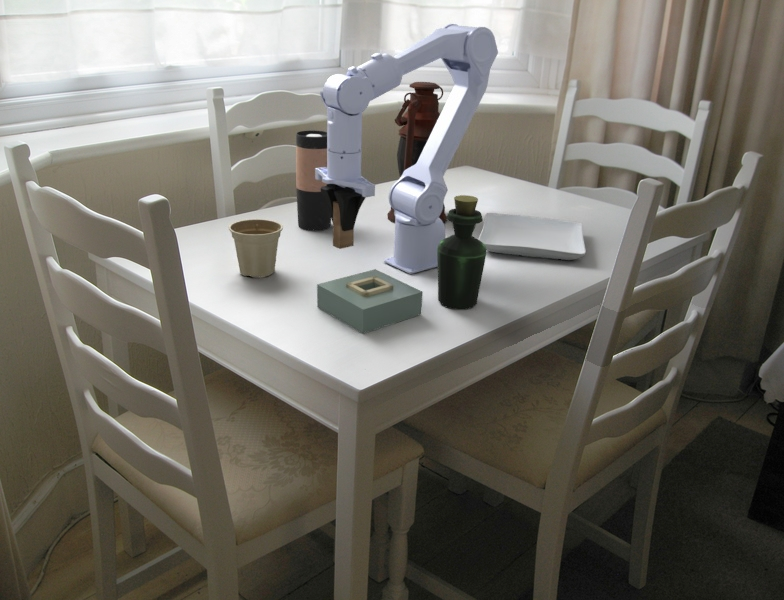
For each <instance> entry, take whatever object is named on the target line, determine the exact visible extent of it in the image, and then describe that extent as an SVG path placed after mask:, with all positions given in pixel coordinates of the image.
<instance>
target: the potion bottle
mask: <svg viewBox="0 0 784 600" xmlns="http://www.w3.org/2000/svg"><path fill="white" fill-rule="evenodd" d="M453 198H454V199H453V201H454V207H455V208H451V209H449V210H448V213H447V214H446V216H447V218H446V219H447V221H448V222H451V223H452V229H453V234H452V235H450V236H448V237H445V239H443V240H441V242H440V243H439V245H438V248H437V261H438V267H437V298H438V302H439V303H440V304H441V305H442V306H444V307H445V308H448V309H452V310H458V311H459V310H469V309H472V308H473V307H476V305H477V304H478V298H479V294H480V293H479V292H480V288H481V282H482V278H483V272H484V269H485V267H484V266H485V263H486V258H487V257H486V256H487V252H488V250H487V249H486V247H485V245H484V244H483V243H482V242H481V241H480V240H478V237H477V238H476V237H475V236H473V234H474V231H475V227H476V225H478V224H481V223H483V220H484V219H483V214H482V212H481V211H480V210H477V205H478V202H479V198H478V197H475V196H473V195H467V194H466V195H465V194H463V195H462V194H461V195H455V196H454V197H453Z"/></svg>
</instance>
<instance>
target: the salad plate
mask: <svg viewBox="0 0 784 600" xmlns="http://www.w3.org/2000/svg"><path fill="white" fill-rule="evenodd" d="M483 220H484V222H483V225H482V228H481V229H482V230H481V232H480V234H479V235H478V237H477V239H478V240H480V241H481V242H482V243H483V244H484V245H485V247H486V249H487V252H491V253H492V252H493V253H496V254H501V253H503V254H502V255H510V254H512V256H519V255H522V257H528V256H532V257H531V258H538V257H542V258H541V259H548V258H552V259H551V260H558V259H561V260H560V261H562V260H563V261H564V260H565V261H572V260H577V259H581V258H582V257H584V256H585V255H586V251H587V249H586V245H585V239H584V226H583V224H582V223H581V222H577V221H571V220H562V219H555V218H546V217H539V216H538V217H537V216H529V215H519V214H518V215H517V214H516V215H515V214H508V213H507V214H504V213H496V212H495V213H494V212H486V213H485V216H484V219H483Z"/></svg>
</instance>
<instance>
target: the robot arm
mask: <svg viewBox="0 0 784 600" xmlns="http://www.w3.org/2000/svg"><path fill="white" fill-rule="evenodd" d="M497 45H498V44H497V41H496V38H495V35H494V33H493V31H492V30H491V29H489V28H488V27H487V26H478V27H477V26H468V25H467V26H466V25H458V24H456V23H455V24H454V23H449V24H446V25H444V26H443V27H440V28H436V29H435V30H434V31H433V32H432V33H431V34H429V35H427V36H426V37H424V38H423V39H421V40H419V41H417V42H416V43H414V44H413V45H411V46H410V47H407V48H406V49H404V50H402V51H400V52H399V53H397V54H396V55H394V56H392V55H391V54H389V53H380V52H375V53H374V54H372V55H371V56H370V57H371V59H370V60H368V61H366V62H364V63H362V64H360V65H358V66H350V67H348V69H347V72H346V74H341V73H336V74H333V75H331V76H330V77H329V78H328V79H326V81H325V83H324V85H323V88H322V90H321V91H320V99H321V101H322V103H323V105H324V106H325V108H326V116H327V117H326V119H327V125H326V130H327V131H326V132H327V168H326V167H321V168H315V179H317V180H321V179H322V182H324V183H327V186H323V187H321V192H322V194H323V196H324V197H325V200H326V202H327V204H328V207H329V211H330V214H331V224H333V202H335V201H337V202H338V205H339V210H340V221H341V228H342V230H343V231H348V230H353V229H354V230H355V224H356V221H357V219H358V218H357V217H358V215H359V211H360V209H361V207H362V205H363V203H364V202H365V200H366V198H370V197H375V195H376V184H375V183H372V182H370V181H369V180H368V179H366V178H365V177H364V176H362V145H363V144H362V141H363V139H362V138H363V135H362V134H363V113H364V112H365V111H366V110H367V108H368V106H369V104H370V102H371V101H373V100H375V99H377V98H379V97H380V96H383V95H385V94H386V93H388V92H390V91H391V90H393V89H395V88H398V87H399V86H400V85H401V84H402V79H403V77H404V75H407V74H409V73H412V72H413V71H416V70H418V69H419V68H422V67H424V66H426V65H428V64H431V63H433V62H435V61H438V60H439V59H441V61H442V62H443V64H444V66H445V67H446V69H447V70H448V72H449V74H450V75H451V76H450V77H452V80H453V85H454V86H453V87H452V89H451V92H450V93H449V96H448V98H447V100H446V102H445V104H444V106H443V108H442V110H441V113H440V116H439V118H438V120H437V122H436V124H435V126H434V128H433V130H432V133H431V135H430V137H429V139H428V141H427V143H426V145H425V147H424V149H423V151H422V153H421V155H420V157H419V159H418V161H417V163H416V164H415V165H413V166H411V167H410V168H408V169H406V170H405V171H404V172H403V174H402V176H401V177H399V179H398V180H397V181H395V183H393V184H392V186H391V188H390V190H389V193H388V203H389V205H390V208H391V207H392V208H393V209H394V216H395V223H394V242H393V243H394V244H393V245H394V246H393V256H392V257H388V258H384V259H383V262H384V263H385V264H387V265H390V266H391V267H394V268H397V269H399V270H401V271H403V272H405V273H407V274H416V273H419V272H422V271H423V272H424V271H427V270H430V269H434V268H438V261H437V248H438V245H439V243H440V242H441V240H443V239H445V238H446V233H447V232H446V226H445V224H444V223H443V222H442V220H441V219H440V218H439V216H440V214H441V212H442V210H443V203H444V201H445V197H446V195H447V193H448V187H447V184H446V180H445V178H444V177H445V174H446V172H447V170H448V168H449V166H450V164H451V162H452V160H453V158H454V155H455V154H456V151H457V149H458V148H459V146H460V144H461V142H462V140H463V137H464V136H465V134H466V132H467V129H468V127H469V126H470V124H471V121H472V119H473V118H474V115H475V113H476V112H477V109H478V107H479V106H480V103H481V101H482V99H483V97H484V95H485V93H486V90H487V89H488V85H489V84H488V83H489V78H490V72H491V68H492V66H493V64H494V62H495V60H496V58H497V56H498V54H499V50H498V46H497ZM422 185H425V187H424V186H422ZM444 204H445V203H444Z"/></svg>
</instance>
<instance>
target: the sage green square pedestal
mask: <svg viewBox="0 0 784 600" xmlns="http://www.w3.org/2000/svg"><path fill="white" fill-rule="evenodd" d="M316 286H317V287H316V290H317V291H316V295H317V296H316V297H317V298H316V300H317V301H316V303H317V304H316V305H317V306H316V307H317V308H318V309H320V310H322V311H324V312H325V313H327V314H328V315H330V316H332V317H334V318H335V319H337V320H338V321H340V322H342V323H344V324H345V325H347V326H349V327H350V328H352V329H354V330H356V331H357V332H359V333H361V334H367V333H369V332H371V331H374V330H378V329H381V328H384V327H387V326H391V325H393V324H397V323H399V322H402V321H405V320H409V319H412V318H415V317H418V316H421V315H422V311H423V310H422V308H423V307H422V306H423V292H424V291H422V290H421V289H418V288H416V287H413V286H412V285H410V284H408V283H405V282H403V281H401V280H399V279H397V278H395V277H393V276H392V275H391V276H390V275H388V274H386V273H384V272H383V271H380V270H378V269H376V268H375V269H371V270H367V271H364V272H359V273H356V274H352V275H349V276H344V277H340V278H337V279H333V280H328V281H325V282H320V283H316Z"/></svg>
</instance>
